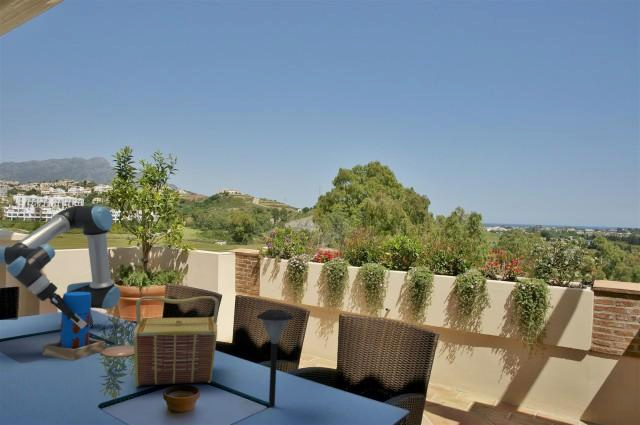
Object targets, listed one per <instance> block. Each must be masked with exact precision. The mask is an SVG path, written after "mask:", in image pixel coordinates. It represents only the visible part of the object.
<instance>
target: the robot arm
mask: <svg viewBox="0 0 640 425" xmlns="http://www.w3.org/2000/svg"><path fill="white" fill-rule="evenodd" d="M113 223H114V218H113V214H112V212H111V211H110V210H109V208H108V207H105V206H99V205H73V206H69V207H67V208H65V209H63V210H60V211H59V212H58V213H56V214H54V215H53V216H52V217H51V219H50V220H49V221H48V222H46V223H44V224H43V225H41V226H40V227H39V228H37V229H36V230H34V231H32V232H31V233H29V234H28V235H27V236H25V237H23V238H22V239H20V240H19V241H17V242H16V243H14V244H13V245H11V246H2V247H0V264H1V265H7V267H6V271H7V273H9V274H10V275H11V276H12V277H13V278H15V280H17V282H19V283H20V284H22V285H23V286H24V287H25V288H26V289H28V290H27V292H31V293H32V294H33V295H35V296H36V297H37V298H38V299H39V300H40V301H42V302H45V301H47V299H49V302H50V304H52V305H53V306H54V307H56V308H57V309H58V310H59V311H61V313H62V312H63V313H64V314H65V315H66V316H67V317H68V318H67V319H68V320H69V319H71V320H72V321H73V322H74V323H76V324H77V325H78V326H79V327H80V328H81V329H82V328H83V327H84V326H86V325H87V323H86V322H85V321H83V320H82V319H81V318H80V317H79V316H78V315H77V314H75V313H74V312H73V311H72V310H70V309H69V308H68V307H67V306H66V305H65V302H64V301H63V297H61V295H60V294H59V293H57V292H56V291H57V290H58V286H56V284H54V283H53V282H51V281H50V279H48V278H47V277H46V276H45V275H44V274H43V273H42V272H41V270H42V269H43V268H45V266H47V265H48V264H49V263H50V262H51V261H52V260H53V258H55V256H56V250H55V248H53V247H52V245H49V244H48V243H49V242H50V241H52V240H54V239H55V238H56V237H58V236H59V235H60V234H62V233H67V232H68V231H70V230H76V229H77V230H78V229H79V230H82V234H83V235H84V236H85V237H86V238H87V239H86V240H87V247H88V256H89V265H90V274H91V280H92V281H84V282H83V281H81V282H76V283H75V282H74V283H70V284H68V285H67V287H66V292H65V293H69V292H90V293H91V309H98V310H99V309H100V310H102V309H103V310H111V309H113V308H115V307H116V306H117V305H118V303H119V301H120V299H121V298H120V297H121V289H120V287H119V286H117V285H115V281H114V280H113V279H111V271H110V262H109V260H110V259H109V251H108V250H109V249H108V241H107V234H109V233H110V232H109V230H110V229H111V228H112V227H113ZM91 311H92V310H91ZM91 311H90V326H91V325H93V324H94V319H93V315H92V312H91ZM93 326H94V325H93Z"/></svg>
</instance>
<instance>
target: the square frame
mask: <svg viewBox="0 0 640 425" xmlns="http://www.w3.org/2000/svg"><path fill="white" fill-rule="evenodd" d="M105 342H106V341H105V340H99V339H92V338H89V345H87V346H84V347H80V348H77V349H69V348H63V347H60V340H58V341H55V342H51V343H47V344H43V345H42V356H44V357H50V358H58V359H63V360H67V361H68V360H69V361H76V360H79V359H83V358H85V356H86V357H89V356H92V355H95V354H98V353H102V350H104V349H106V348H105V347H106V346H105V345H106V343H105ZM97 352H98V353H97ZM91 354H92V355H91ZM88 355H89V356H88Z"/></svg>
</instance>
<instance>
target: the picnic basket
mask: <svg viewBox="0 0 640 425" xmlns="http://www.w3.org/2000/svg"><path fill="white" fill-rule="evenodd" d="M144 300H158V301H160V302H162V303H167V304H175V305H176V304H177V305H179V304H181V305H182V304H188V303H194V302H197V301H199V300H213V301H214V303H215V304H214V305H215V306H214V312H213V316H204V317H203V316H202V317H148V318H147V317H146V318H145V317H141V302H142V301H144ZM219 306H220V301H219V299H218V298H217V297H215V296H209V295H207V296H195V297H190V298H185V299H183V298H182V299H179V298H178V299H175V298H168V297H161V296H150V295H148V296H142V297H140V298H138V299H137V301H136V303H135V311H136V312H135V314H136V316H135V317H136V326H135V328H134V331H133V346H134V355H133V358H134V379H135V380H134V383H135V387H140V386H154V385H155V386H157V385H174V384H175V385H176V384H195V383H208V384H210V383H211V382H212V379H213V378H212V377H213V370H214V361H215V354H216V344H217V338H218V337H217V335H218V325H217V322H218V321H217V320H218V313H219Z"/></svg>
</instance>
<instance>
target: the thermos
mask: <svg viewBox="0 0 640 425" xmlns="http://www.w3.org/2000/svg"><path fill="white" fill-rule="evenodd" d="M62 298H63V301H64V302H65V305H66V306H67V307H68V308H69V309H70V310H72V311H73V312H74V313H75V314H77V315H78V316H79V317H80V318H81V319H82V320H83V321H85V322H86V323H87V325H86V326H84V327H83V328H82V329H81V328H80V327H79V326H78V325H77V324H76V323H74V322H73V321H72V320H71V319H69V320H68V319H67V318H68V317H67V316H66V315H65V314H64V313H63V312H62V311H61V322H60V339H59V341H60V347H63V348H69V349H77V348H80V347H84V346H87V345H89V339H90V329H91V328H90V311H92V308H91V293H90V292H69V293H66V292H65V293H63V295H62Z"/></svg>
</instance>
